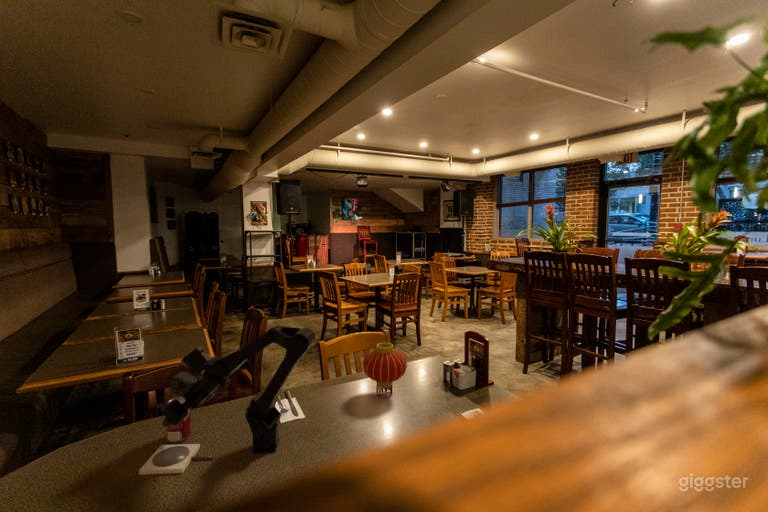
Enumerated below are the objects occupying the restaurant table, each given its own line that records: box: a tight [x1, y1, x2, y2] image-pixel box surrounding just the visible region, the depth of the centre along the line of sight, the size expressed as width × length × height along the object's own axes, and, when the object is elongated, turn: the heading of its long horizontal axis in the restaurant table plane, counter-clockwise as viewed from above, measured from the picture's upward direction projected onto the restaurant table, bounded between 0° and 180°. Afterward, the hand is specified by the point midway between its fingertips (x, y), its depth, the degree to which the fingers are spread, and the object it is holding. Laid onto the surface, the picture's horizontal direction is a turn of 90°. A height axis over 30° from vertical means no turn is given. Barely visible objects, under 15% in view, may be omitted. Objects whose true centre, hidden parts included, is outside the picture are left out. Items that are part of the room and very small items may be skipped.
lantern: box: [362, 320, 408, 398], centre depth 141 cm, size 17×17×30 cm
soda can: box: [165, 396, 192, 444], centre depth 112 cm, size 7×7×12 cm
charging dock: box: [138, 443, 215, 476], centre depth 102 cm, size 17×11×2 cm, turn 95°
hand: (174, 417), depth 112 cm, fingers open, 9 cm apart
